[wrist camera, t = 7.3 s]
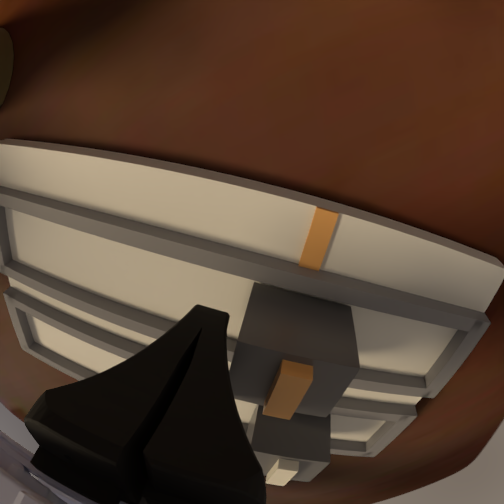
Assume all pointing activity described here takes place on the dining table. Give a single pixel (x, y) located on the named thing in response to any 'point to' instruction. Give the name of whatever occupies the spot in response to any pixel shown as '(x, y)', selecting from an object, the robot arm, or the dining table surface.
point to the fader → (290, 445)
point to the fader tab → (293, 353)
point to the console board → (229, 273)
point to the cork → (5, 62)
